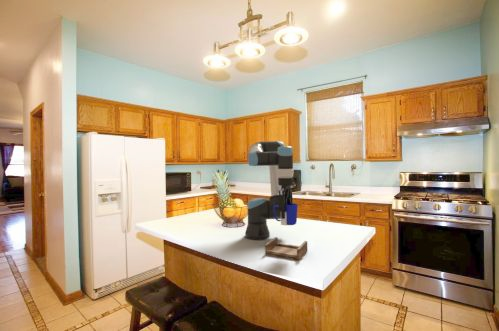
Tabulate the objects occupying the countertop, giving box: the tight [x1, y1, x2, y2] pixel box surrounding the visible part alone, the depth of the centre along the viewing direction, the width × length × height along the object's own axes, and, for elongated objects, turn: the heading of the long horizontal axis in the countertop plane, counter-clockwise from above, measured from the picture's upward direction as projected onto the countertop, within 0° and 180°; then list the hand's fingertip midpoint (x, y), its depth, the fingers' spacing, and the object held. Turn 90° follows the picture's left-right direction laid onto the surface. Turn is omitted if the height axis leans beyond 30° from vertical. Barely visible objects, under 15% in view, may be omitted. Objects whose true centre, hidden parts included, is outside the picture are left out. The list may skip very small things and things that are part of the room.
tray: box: [264, 236, 308, 261], centre depth 125 cm, size 17×13×5 cm
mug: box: [273, 203, 299, 226], centre depth 124 cm, size 8×12×10 cm
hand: (286, 223), depth 125 cm, fingers closed on mug, 7 cm apart
